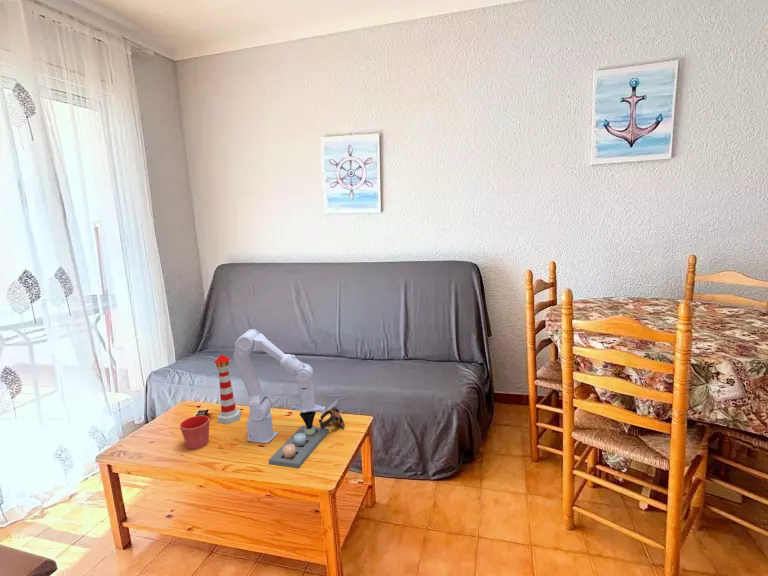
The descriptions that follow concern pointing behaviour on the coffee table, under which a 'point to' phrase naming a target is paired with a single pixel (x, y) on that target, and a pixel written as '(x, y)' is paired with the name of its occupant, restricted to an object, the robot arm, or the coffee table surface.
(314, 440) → the grey slotted board
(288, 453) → the terracotta button
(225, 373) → the decorative lighthouse
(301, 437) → the slate button
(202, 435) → the flower pot
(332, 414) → the brown curved piece
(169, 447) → the coffee table surface
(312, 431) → the sage button
